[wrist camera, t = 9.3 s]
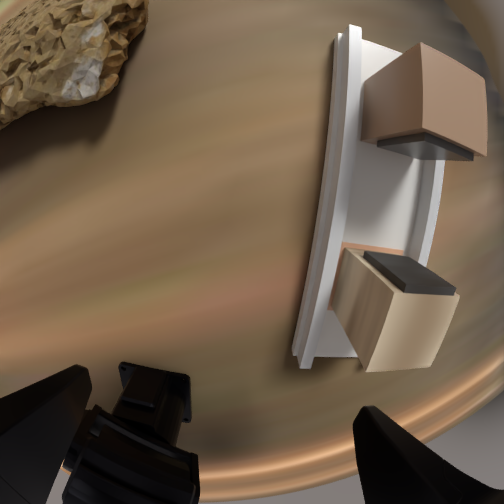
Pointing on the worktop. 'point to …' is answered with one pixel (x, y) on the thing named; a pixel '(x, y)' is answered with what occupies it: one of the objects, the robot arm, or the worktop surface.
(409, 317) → the beige block
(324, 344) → the rail
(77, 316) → the worktop surface
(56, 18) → the sponge
